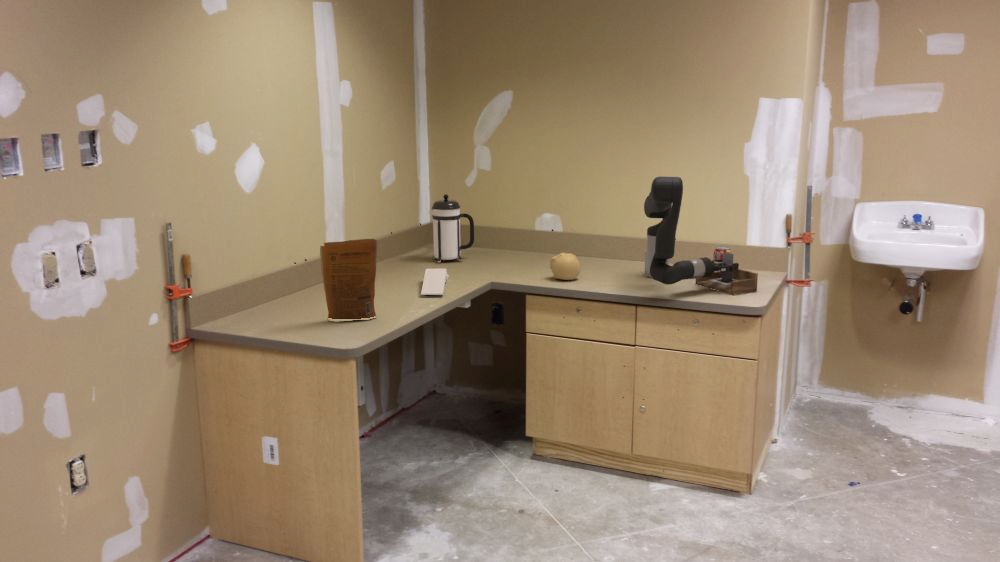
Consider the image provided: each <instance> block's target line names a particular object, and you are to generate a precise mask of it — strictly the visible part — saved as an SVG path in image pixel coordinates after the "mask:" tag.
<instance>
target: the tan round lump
mask: <svg viewBox="0 0 1000 562" xmlns="http://www.w3.org/2000/svg"><path fill="white" fill-rule="evenodd" d="M549 268H550V270H551V273H552V275H553V276H554V278H555V279H557V280H563V281H564V280H567V281H573V280H576V279H577V278H578V277H579V276H580V273H581V264H580V261H579V259H578V258H577V255H575V254H574V253H572V252H571V253H569V252H568V253H567V252H560V253H559V254H557V255H555V256H552V257H550V259H549Z"/></svg>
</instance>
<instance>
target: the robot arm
mask: <svg viewBox="0 0 1000 562" xmlns="http://www.w3.org/2000/svg"><path fill="white" fill-rule="evenodd" d="M683 191H684V183H683V179H682V178H681V177H679V176H657V177H655V178H653V180H652V183H651V186H650V191H649V194H648V196H646V198H645V201H644V203H643V211H644V214H645V216H646V217H647V218H648V219H662V220H660V222H658V223H655V224H654V225H651V226H649V227H648V228H647V229H646V251H645V253H644V275H645V277H647V278H652V279H653V280H655V281H656V282H659V283H661V284H664V285H674V284H676V283H679V282H681V281H684V280H691V279H692V280H696V279H697V278H704V277H709V276H711V274H712V273H713V272H720V273H726V272H734V269H740V268H739V266H740V264H739V262H733V264H726V263H725V262H722V260H723V259H719V260H714V259H710V258H709V257H706V256H704V257H697V258H691V259H687V260H681V261H677V262H675V263H674V264H672V265H670V259H673V257H674V256H675V250H676V249H675V248H676V234H677V228H678V224H679V223H678V222H679V217H680V213H681V207H682V202H683V201H682V200H683V194H684V192H683ZM722 264H723V266H721V265H722Z"/></svg>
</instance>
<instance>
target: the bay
mask: <svg viewBox="0 0 1000 562" xmlns="http://www.w3.org/2000/svg"><path fill="white" fill-rule="evenodd" d="M721 266H722V265H721ZM758 275H759V272H754V271H750V270H747V269H742V268H738V269H734V272H733V274H732V282H731V283H724V282H721V281H722V273H720V272H713V273H712V274H711V276H709V277H704V278H697V279H695V285H696V284H698V285H697V286H700V285H701V286H700V287H703V286H704V288H706V287H708V289H710V288H712V289H711V290H713V289H715V290H714V291H717V290H719V291H718V292H720V291H722V292H721V293H724V292H725V294H727V293H729V294H728V295H731V294H732V296H735V295H734V294H737V295H742V294H741V293H743V294H748V293H749V292H750V293H755V292H758V280H759V279H758V278H759V276H758ZM750 293H749V294H750Z"/></svg>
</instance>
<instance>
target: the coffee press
mask: <svg viewBox="0 0 1000 562" xmlns="http://www.w3.org/2000/svg"><path fill="white" fill-rule="evenodd" d="M460 211H461V205H460V202H459V201H457V200H454V199H449V195H448V194H447V193H445V194H444V195H443V199H438V200H435V201H434V202H433V203H432V205H431V208H430V210H429V212H428V214H431V219H432V227H433V228H432V230H433V231H432V232H433V235H432V236H433V256H432V258H433V257H434V258H437V259H436V260H437V261H440V260H443V261H449V260H456V259H459V261H460V260H461V259H462V257H461V250H466V249H470V248H471V247H472V246H473V245H474V243H475V223H474V218H473V216H471V215H470V214H468V213H461V212H460ZM461 218H466V219H468V222H469V242H468V243H467V244H464V245H462V244H461ZM437 261H436V262H437Z"/></svg>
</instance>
